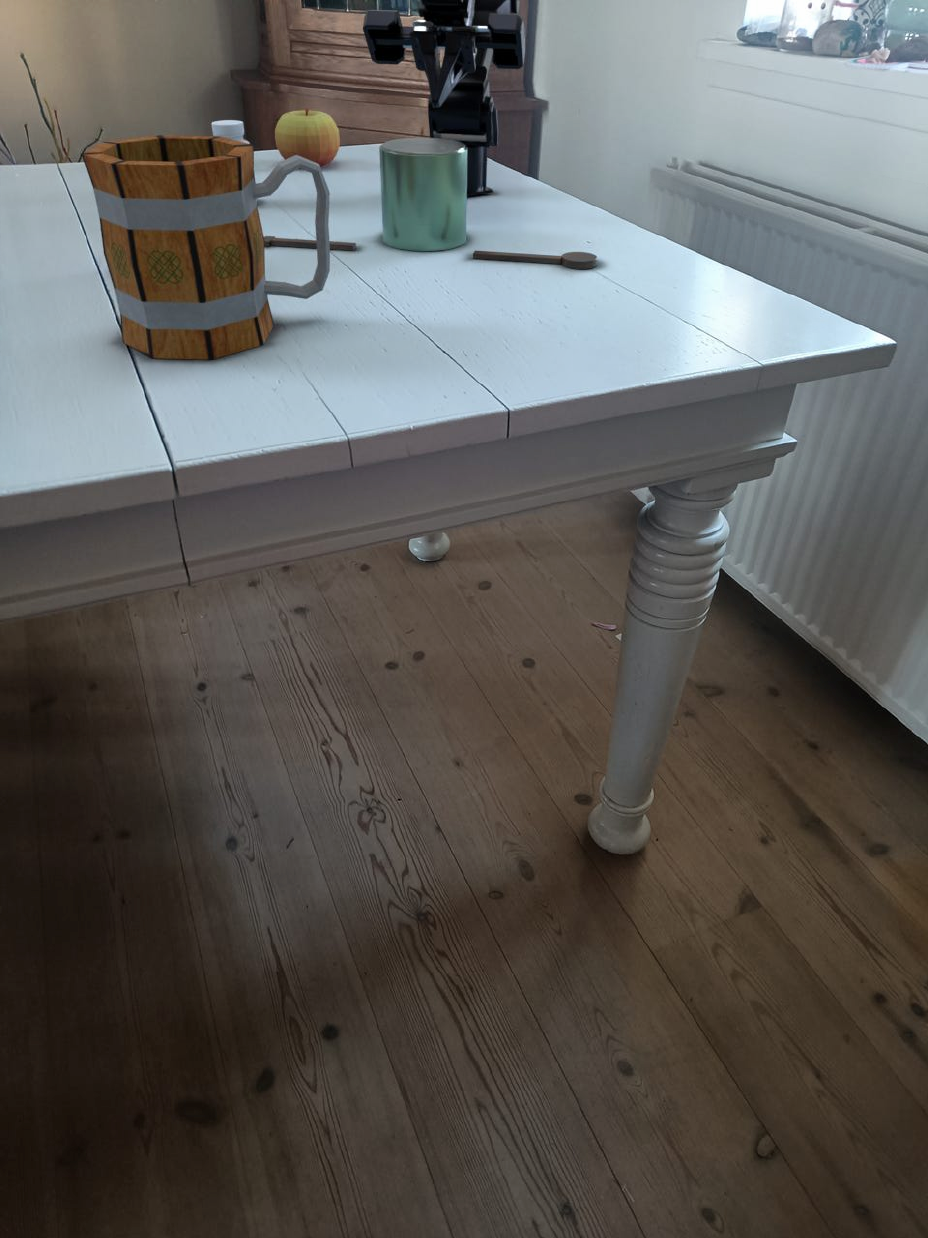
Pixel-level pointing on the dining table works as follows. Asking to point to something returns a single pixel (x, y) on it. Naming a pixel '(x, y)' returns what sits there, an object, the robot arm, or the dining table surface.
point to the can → (423, 193)
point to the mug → (193, 242)
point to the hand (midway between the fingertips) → (435, 104)
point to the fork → (306, 243)
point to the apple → (308, 136)
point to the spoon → (543, 258)
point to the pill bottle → (230, 131)
